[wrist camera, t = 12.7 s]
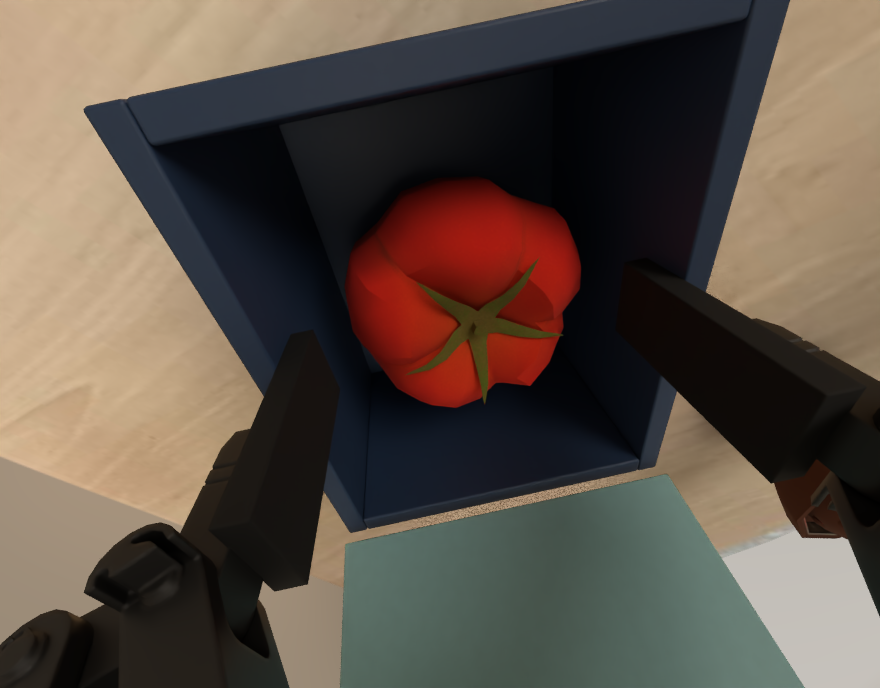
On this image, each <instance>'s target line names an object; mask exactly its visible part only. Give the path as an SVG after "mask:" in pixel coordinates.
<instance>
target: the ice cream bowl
mask: <svg viewBox="0 0 880 688" xmlns="http://www.w3.org/2000/svg"><path fill="white" fill-rule="evenodd" d="M830 471H831V470H829V469H828V468H827V467H826V466H824V465H823V464H822V463H821V462H820V461H818V460H817V459H816V460H815V462H814V463H813V464H812V466H811V467H810V469H809V470H808V471H807V473H806V474H805V476H803V477H799V478H794V479H789V480H785V481H780V482H776V483H774V484H775V487H776V490H777V493H778V496H779V498H780V501H781V503H782V506H783V508H784V510H785V513H786V515H787V517H788V518H789V520H790V521H791V523H792V524H793V525H794V527H795V528H796V530H797V531H798V532H799V534H800V535H801V537H802V538H840V537H843V538H846V539H848V538H847V535H846V533H845V530H844V528H843V525H842V523H841V521H840V518H839V516H838V513H837V511H833V510H829V509H827V507H828V505H829V503H830V502H831V501H832V499H831V496H830V494H828V495H827V496H826V498H825V499H824V500H823V501H822V502H821V504H820V505H819V506H818V507H816V506H812V505H811V496H812V494H813V493H814V492H815V491H816V489H817V488H818V487H819V485H820V484H821V483H822V481H823V480H824V479H825V477H826V476H827V475H828V474H829V472H830Z"/></svg>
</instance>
